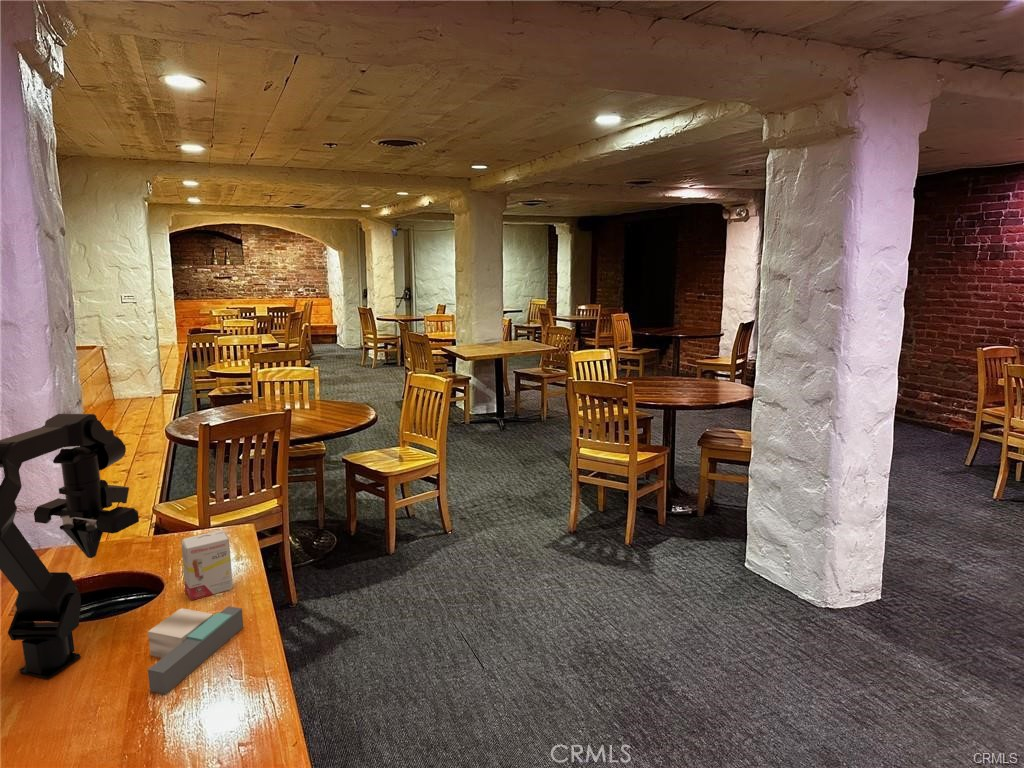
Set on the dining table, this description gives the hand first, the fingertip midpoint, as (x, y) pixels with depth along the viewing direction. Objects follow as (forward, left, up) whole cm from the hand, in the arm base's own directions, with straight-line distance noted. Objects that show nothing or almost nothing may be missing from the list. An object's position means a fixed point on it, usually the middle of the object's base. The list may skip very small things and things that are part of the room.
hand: (91, 557), depth 127 cm
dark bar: (-5, -27, -13) cm, 30 cm away
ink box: (+15, -13, -13) cm, 24 cm away
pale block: (-3, -22, -13) cm, 26 cm away
